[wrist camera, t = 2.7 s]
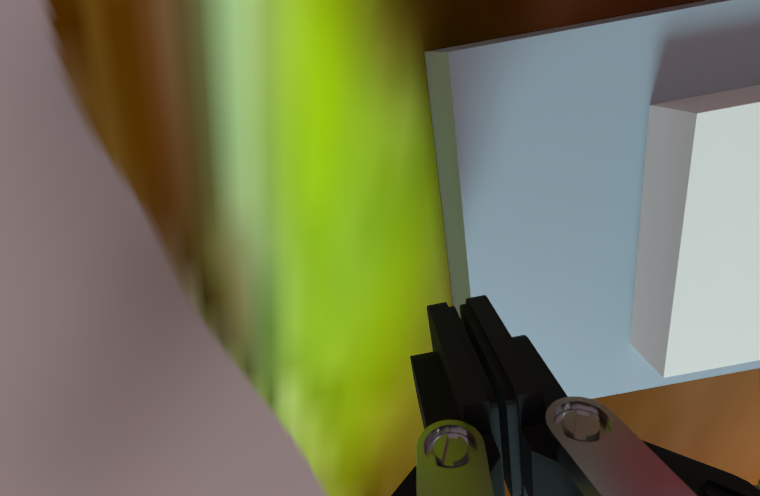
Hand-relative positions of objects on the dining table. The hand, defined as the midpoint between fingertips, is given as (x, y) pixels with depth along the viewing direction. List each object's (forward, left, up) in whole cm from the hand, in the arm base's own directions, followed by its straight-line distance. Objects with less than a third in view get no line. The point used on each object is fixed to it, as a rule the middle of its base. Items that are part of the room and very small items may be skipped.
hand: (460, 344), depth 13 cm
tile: (0, +10, -3) cm, 11 cm away
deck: (0, +8, -7) cm, 11 cm away
